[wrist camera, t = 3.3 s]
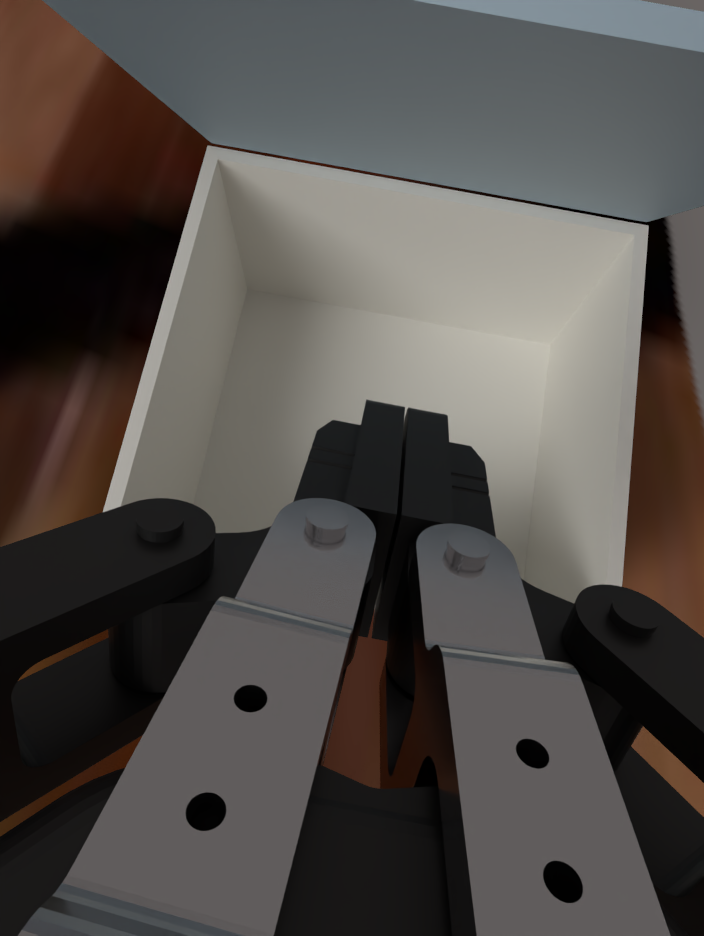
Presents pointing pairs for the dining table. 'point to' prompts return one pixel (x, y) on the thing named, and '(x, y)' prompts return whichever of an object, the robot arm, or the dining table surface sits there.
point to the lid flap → (437, 89)
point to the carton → (395, 351)
